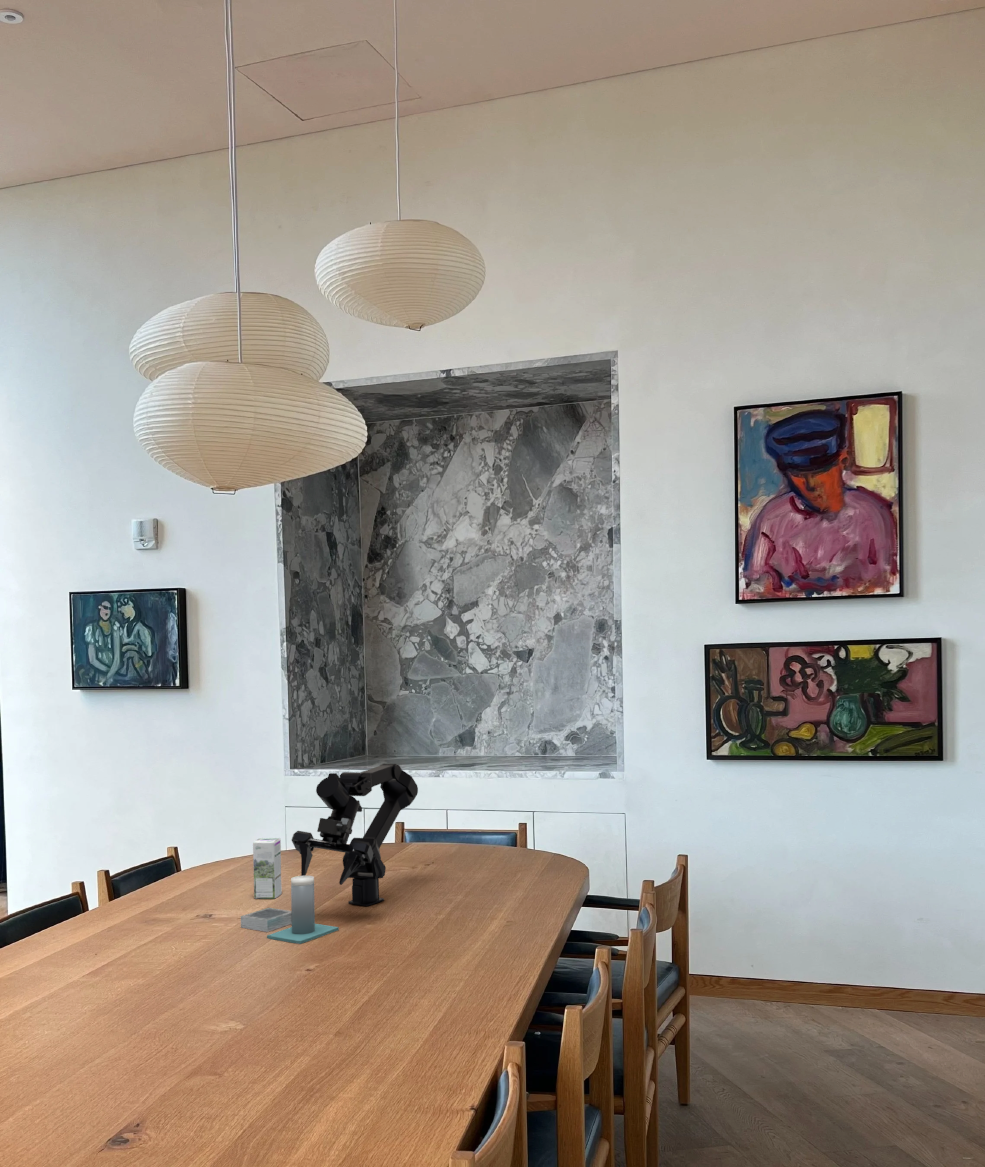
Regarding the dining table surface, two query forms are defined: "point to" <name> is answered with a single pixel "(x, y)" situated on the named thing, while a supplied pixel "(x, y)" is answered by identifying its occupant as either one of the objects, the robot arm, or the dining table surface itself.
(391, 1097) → the dining table surface
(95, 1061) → the dining table surface
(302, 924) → the ball
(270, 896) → the syrup box
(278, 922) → the collar
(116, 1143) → the dining table surface
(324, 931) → the mat
